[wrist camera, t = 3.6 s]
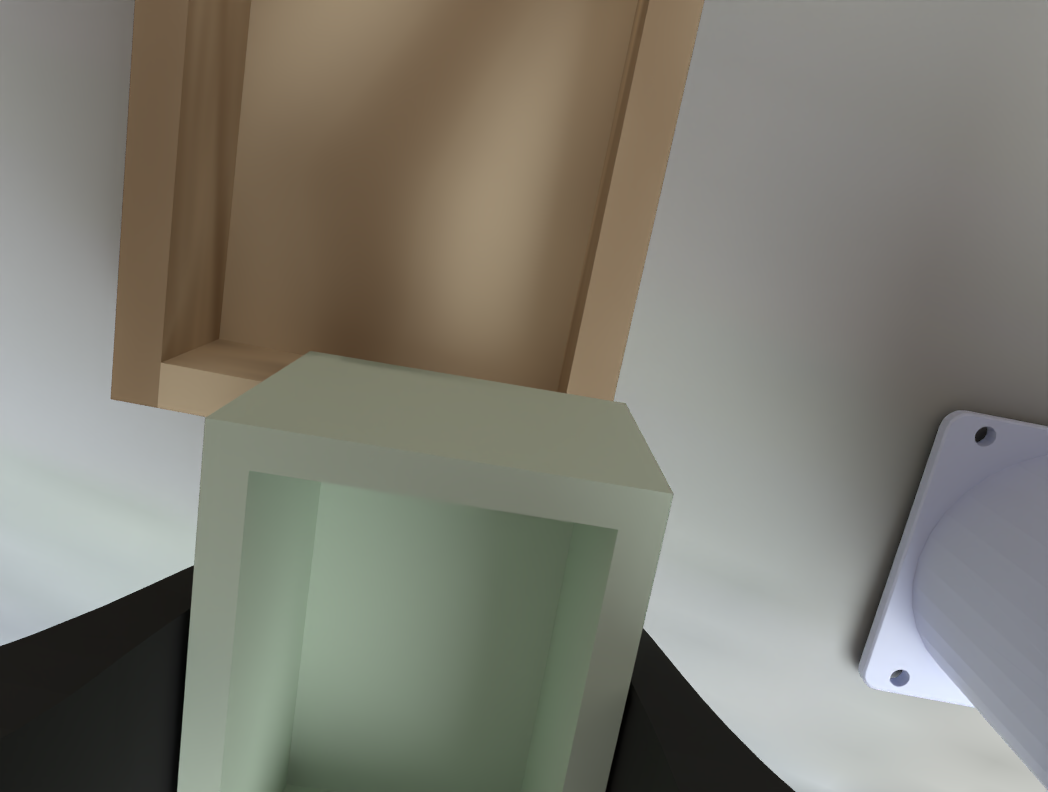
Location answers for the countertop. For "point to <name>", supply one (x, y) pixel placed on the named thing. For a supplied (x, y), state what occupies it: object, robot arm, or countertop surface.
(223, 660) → the sage crate
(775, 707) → the countertop surface
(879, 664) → the robot arm
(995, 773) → the countertop surface
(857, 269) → the countertop surface
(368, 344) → the box
